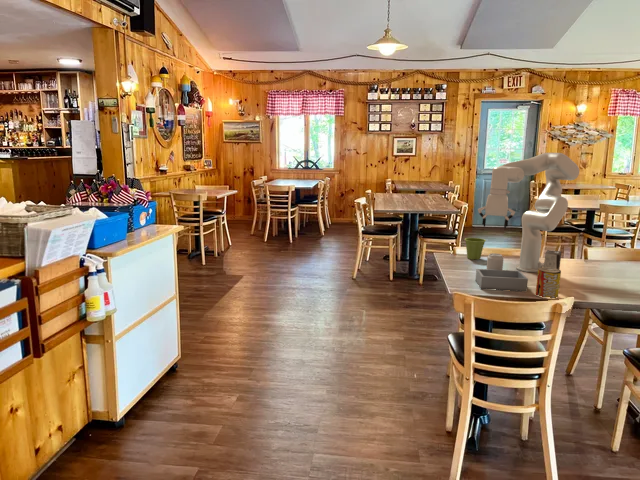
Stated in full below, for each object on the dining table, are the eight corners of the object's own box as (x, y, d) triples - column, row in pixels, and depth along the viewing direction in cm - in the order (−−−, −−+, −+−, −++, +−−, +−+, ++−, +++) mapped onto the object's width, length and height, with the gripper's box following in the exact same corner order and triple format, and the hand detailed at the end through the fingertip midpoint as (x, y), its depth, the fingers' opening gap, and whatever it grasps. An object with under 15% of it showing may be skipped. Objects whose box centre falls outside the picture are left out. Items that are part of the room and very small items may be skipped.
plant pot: (485, 257, 276) (486, 238, 273) (483, 261, 265) (484, 242, 263) (464, 255, 280) (465, 236, 278) (461, 259, 270) (463, 240, 267)
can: (494, 280, 229) (496, 256, 226) (482, 276, 235) (484, 253, 233) (505, 278, 232) (507, 255, 230) (493, 275, 238) (495, 252, 236)
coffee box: (556, 288, 217) (560, 254, 214) (541, 286, 220) (544, 252, 217) (558, 283, 224) (562, 251, 221) (543, 281, 228) (547, 249, 225)
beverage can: (530, 293, 209) (533, 267, 207) (548, 292, 211) (551, 266, 209) (544, 300, 201) (547, 273, 198) (562, 298, 203) (565, 272, 200)
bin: (518, 282, 225) (519, 270, 224) (526, 291, 212) (527, 279, 211) (475, 280, 228) (476, 268, 227) (480, 289, 215) (481, 276, 213)
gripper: (516, 193, 229) (512, 227, 232) (479, 190, 234) (476, 224, 238) (517, 194, 222) (513, 229, 225) (479, 192, 227) (476, 226, 231)
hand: (494, 227), depth 232 cm, fingers open, 9 cm apart
